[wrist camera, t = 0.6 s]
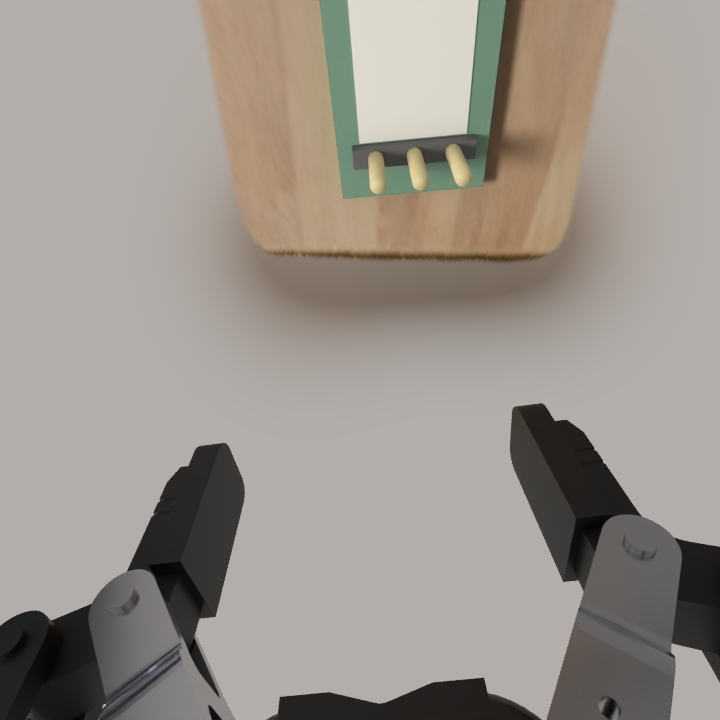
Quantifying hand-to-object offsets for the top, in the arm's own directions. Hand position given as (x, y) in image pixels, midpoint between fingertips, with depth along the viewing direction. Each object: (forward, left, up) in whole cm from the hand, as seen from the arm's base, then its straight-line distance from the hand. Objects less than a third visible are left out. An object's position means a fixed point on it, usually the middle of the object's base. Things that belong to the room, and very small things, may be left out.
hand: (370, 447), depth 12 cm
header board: (-2, +5, -25) cm, 25 cm away
